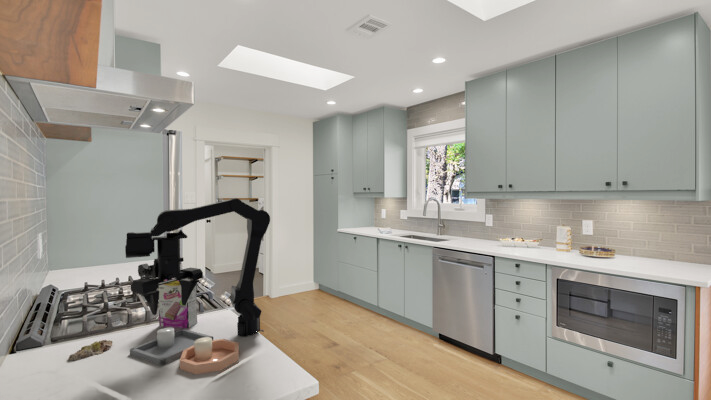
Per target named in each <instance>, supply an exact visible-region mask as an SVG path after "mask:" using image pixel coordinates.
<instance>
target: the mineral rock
mask: <svg viewBox="0 0 711 400" xmlns="http://www.w3.org/2000/svg"><path fill="white" fill-rule="evenodd" d="M112 345H113V341H112V340H110V339H109V340H107V339H102V340H99V341H94V342H93V343H91V344H87V345H84V346H82V347H81V348H80V349H79V350H77V351H76V352H75V353H71V354H70V355H69V357H68V359H67V360H69V361H80V360H82V359H84V358H87V357H94V356H96V355H101V354H104V352H106V351H109V350H111V347H112Z"/></svg>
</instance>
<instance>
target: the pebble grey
mask: <svg viewBox="0 0 711 400" xmlns="http://www.w3.org/2000/svg"><path fill="white" fill-rule="evenodd" d="M174 332H175V327H163V328H161V329H158V330H157V331H156V339H157V347H158V348H159V349H165V348H169V347H172V346H173V345H174V344H175V337H174Z"/></svg>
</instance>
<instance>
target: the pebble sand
mask: <svg viewBox="0 0 711 400" xmlns="http://www.w3.org/2000/svg"><path fill="white" fill-rule="evenodd" d="M194 348H195V360H197V361H203V360H207V359H209V358H211V357H212V356H213V352H212V338H210V337H204V338H199V339H197V340H195V342H194Z"/></svg>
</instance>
